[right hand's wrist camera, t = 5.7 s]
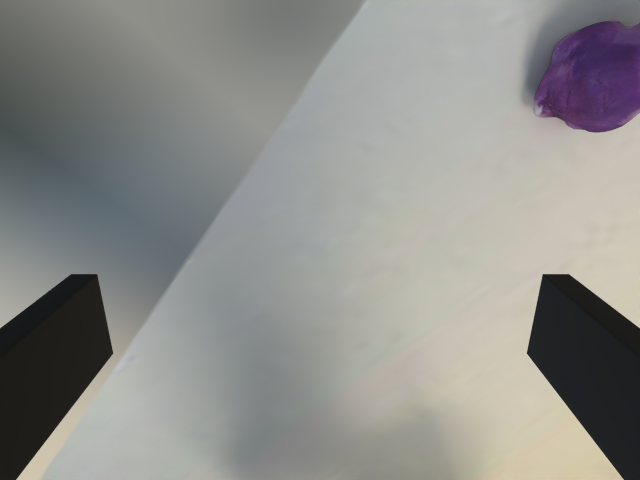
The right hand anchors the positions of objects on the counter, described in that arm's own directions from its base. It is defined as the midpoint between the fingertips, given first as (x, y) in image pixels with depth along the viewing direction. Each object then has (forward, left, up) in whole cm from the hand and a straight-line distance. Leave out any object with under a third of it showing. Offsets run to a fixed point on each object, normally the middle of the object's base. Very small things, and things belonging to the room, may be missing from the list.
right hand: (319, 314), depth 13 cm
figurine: (+8, -23, -28) cm, 37 cm away
